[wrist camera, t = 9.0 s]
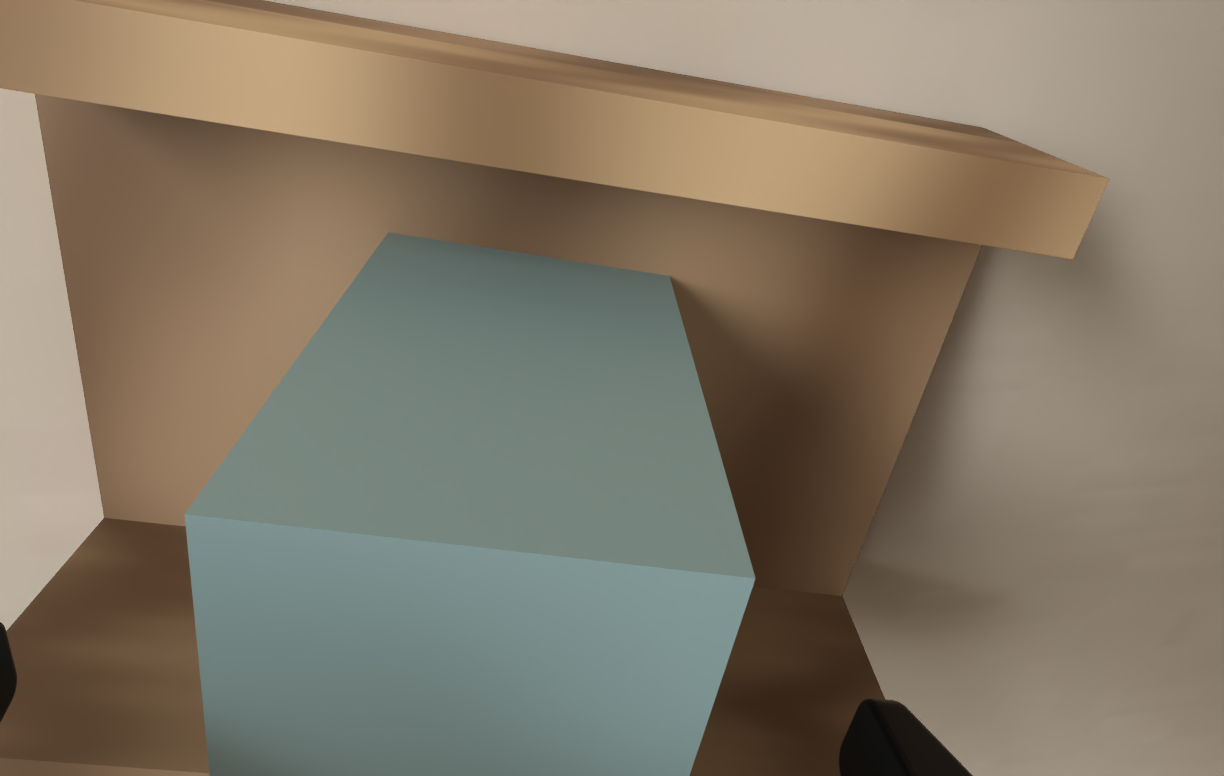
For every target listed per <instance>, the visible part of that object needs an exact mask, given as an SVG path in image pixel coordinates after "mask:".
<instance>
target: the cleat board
mask: <svg viewBox="0 0 1224 776" xmlns="http://www.w3.org/2000/svg"><path fill="white" fill-rule="evenodd" d="M0 88H3V89H9V90H16V91H22V92H28V93H34V94H35V97H36V103H37V109H38V116H39V122H40V128H41V134H42V140H43V146H44V152H45V158H46V164H47V171H48V177H49V183H50V189H51V195H52V201H53V207H54V213H55V219H56V226H57V232H58V238H59V244H60V250H61V256H62V262H63V268H64V274H65V281H66V287H67V293H68V299H69V305H70V311H71V317H72V323H73V329H74V335H75V342H76V348H77V354H78V360H79V366H80V372H81V378H82V384H83V390H84V397H85V403H86V409H87V415H88V421H89V427H90V433H91V439H92V445H93V452H94V458H95V464H96V470H97V476H98V482H99V488H100V494H101V500H102V507H103V513H104V519H103V520H102V521H101V522H100V523H99V525H98V526H97V527H96V528H95V529H94V530H93V532H92V533H91V534H90V535H89V536H88V537H87V539H86V540H85V541H84V542H83V543H82V544H81V545H80V547H79V548H78V549H77V550H76V551H75V552H74V554H73V555H72V556H71V557H70V558H69V559H68V561H67V562H66V563H65V564H64V565H63V566H62V567H61V569H60V570H59V571H58V572H57V573H56V574H55V576H54V577H53V578H52V579H51V580H50V581H49V583H48V584H47V585H46V586H45V587H44V588H43V590H42V591H41V592H40V593H39V594H38V595H37V596H36V598H35V599H34V600H33V601H32V602H31V603H30V605H29V606H28V607H27V608H26V609H25V610H24V612H23V613H22V614H21V615H20V616H19V617H18V618H17V620H16V621H15V622H14V623H13V624H12V625H11V627H10V628H9V629H8V630H7V631H6V633H7V637H8V641H9V645H10V649H11V652H12V656H13V660H14V664H15V668H16V672H17V687H16V691H15V694H14V697H13V700H12V702H11V704H10V706H9V708H8V710H7V711H6V713H5V715H4V717H3V719H2V721H1V723H0V776H210V773H209V763H208V752H207V742H206V732H205V721H204V711H203V700H202V690H201V680H200V669H199V659H198V649H197V638H196V628H195V617H194V607H193V597H192V586H191V576H190V566H189V555H188V545H187V534H186V524H185V513H186V512H187V510H188V509H189V507H190V506H191V505H192V503H193V502H194V500H195V499H196V498H197V496H198V495H199V494H200V492H201V491H202V489H203V488H204V487H205V485H206V484H207V482H208V481H209V480H210V478H211V477H212V476H213V474H214V473H215V471H216V470H217V469H218V467H219V466H220V464H221V463H222V462H223V460H224V459H225V458H226V456H227V455H228V453H229V452H230V451H231V449H232V448H233V446H234V445H235V444H236V442H237V441H238V440H239V438H240V437H241V435H242V434H243V433H244V431H245V430H246V428H247V427H248V426H249V424H250V423H251V422H252V420H253V419H254V417H255V416H256V415H257V413H258V412H259V410H260V409H261V408H262V406H263V405H264V404H265V402H266V401H267V399H268V398H269V397H270V395H271V394H272V392H273V391H274V390H275V388H276V387H277V386H278V384H279V383H280V381H281V380H282V379H283V377H284V376H285V374H286V373H287V372H288V370H289V369H290V368H291V366H292V365H293V363H294V362H295V361H296V359H297V358H298V356H299V355H300V354H301V352H302V351H303V350H304V348H305V347H306V345H307V344H308V343H309V341H310V340H311V338H312V337H313V336H314V334H315V333H316V332H317V330H318V329H319V327H320V326H321V325H322V323H323V322H324V320H325V319H326V318H327V316H328V315H329V314H330V312H331V311H332V309H333V308H334V307H335V305H336V304H337V302H338V301H339V300H340V298H341V297H342V296H343V294H344V293H345V291H346V290H347V289H348V287H349V286H350V284H351V283H352V282H353V280H354V279H355V278H356V276H357V275H358V273H359V272H360V271H361V269H362V268H363V266H364V265H365V264H366V262H367V261H368V260H369V258H370V257H371V255H372V254H373V253H374V251H375V250H376V248H377V247H378V246H379V244H380V243H381V242H382V240H383V239H384V237H385V236H386V235H387V233H388V232H390V233H397V234H403V235H409V236H416V237H422V238H429V239H435V240H442V241H448V242H455V243H461V244H468V245H474V246H481V247H487V248H493V249H500V250H506V251H513V252H519V253H526V254H532V255H539V256H545V257H552V258H558V259H564V260H571V261H577V262H584V263H590V264H597V265H603V266H610V267H616V268H623V269H629V270H636V271H642V272H648V273H655V274H661V275H668V276H670V280H671V283H672V287H673V290H674V294H675V297H676V301H677V304H678V308H679V311H680V315H681V318H682V322H683V325H684V329H685V332H686V336H687V339H688V343H689V346H690V350H691V353H692V357H693V360H694V364H695V368H696V371H697V375H698V378H699V382H700V385H701V389H702V392H703V396H704V399H705V403H706V406H707V410H708V413H709V417H710V420H711V424H712V427H713V431H714V434H715V438H716V441H717V445H718V448H719V452H720V455H721V459H722V462H723V466H724V469H725V473H726V476H727V480H728V483H729V487H730V490H731V494H732V498H733V501H734V505H735V508H736V512H737V515H738V519H739V522H740V526H741V529H742V533H743V536H744V540H745V543H746V547H747V550H748V554H749V557H750V561H751V564H752V568H753V571H754V575H755V578H756V579H755V582H754V585H753V588H752V591H751V594H750V597H749V600H748V603H747V606H746V609H745V612H744V615H743V618H742V620H741V623H740V626H739V629H738V632H737V635H736V638H735V641H734V644H733V647H732V650H731V653H730V656H729V659H728V662H727V665H726V668H725V671H724V674H723V677H722V680H721V683H720V686H719V689H718V692H717V695H716V698H715V701H714V704H713V707H712V710H711V713H710V716H709V719H708V722H707V725H706V728H705V731H704V734H703V737H702V740H701V743H700V746H699V749H698V752H697V755H696V758H695V761H694V764H693V767H692V770H691V773H690V776H840V770H839V751H840V746H841V743H842V741H843V739H844V737H845V734H846V732H847V730H848V728H849V726H850V723H851V721H852V719H853V717H854V715H855V712H856V710H857V708H858V706H859V704H860V703H861V702H862V701H863V700H865V699H869V698H870V699H881V700H885V698H884V696H883V693H882V691H881V689H880V686H879V684H878V681H877V679H876V676H875V674H874V672H873V669H872V667H871V664H870V662H869V660H868V657H867V655H866V652H865V650H864V647H863V645H862V643H861V640H860V638H859V635H858V633H857V631H856V628H855V626H854V623H853V621H852V619H851V616H850V614H849V611H848V609H847V606H846V604H845V602H844V599H843V597H842V596H843V593H844V591H845V588H846V585H847V583H848V580H849V578H850V575H851V573H852V570H853V568H854V565H855V563H856V560H857V558H858V555H859V553H860V550H861V548H862V545H863V543H864V540H865V538H866V535H867V533H868V530H869V528H870V525H871V523H872V520H873V518H874V515H875V513H876V510H877V508H878V505H879V503H880V500H881V498H882V495H883V493H884V490H885V488H886V485H887V483H888V480H889V478H890V475H891V473H892V470H893V468H894V465H895V463H896V460H897V458H898V455H899V453H900V450H901V448H902V445H903V443H904V440H905V437H906V435H907V432H908V430H909V427H910V425H911V422H912V420H913V417H914V415H915V412H916V410H917V407H918V405H919V402H920V400H921V397H922V395H923V392H924V390H925V387H926V385H927V382H928V380H929V377H930V375H931V372H932V370H933V367H934V365H935V362H936V360H937V357H938V355H939V352H940V350H941V347H942V345H943V342H944V340H945V337H946V335H947V332H948V330H949V327H950V325H951V322H952V320H953V317H954V315H955V312H956V310H957V307H958V305H959V302H960V300H961V297H962V295H963V292H964V289H965V287H966V284H967V282H968V279H969V277H970V274H971V272H972V269H973V267H974V264H975V262H976V259H977V257H978V254H979V252H980V249H981V247H982V245H986V246H992V247H999V248H1005V249H1011V250H1017V251H1024V252H1030V253H1036V254H1042V255H1049V256H1055V257H1061V258H1067V259H1073V258H1074V256H1075V253H1076V251H1077V249H1078V247H1079V245H1080V243H1081V240H1082V238H1083V236H1084V234H1085V232H1086V229H1087V227H1088V225H1089V223H1090V221H1091V219H1092V216H1093V214H1094V212H1095V210H1096V208H1097V205H1098V203H1099V201H1100V199H1101V197H1102V194H1103V192H1104V190H1105V188H1106V186H1107V184H1108V181H1109V179H1108V178H1106V177H1103V176H1101V175H1098V174H1096V173H1093V172H1091V171H1089V170H1086V169H1084V168H1081V167H1079V166H1076V165H1074V164H1071V163H1069V162H1066V161H1064V160H1061V159H1059V158H1056V157H1054V156H1051V155H1049V154H1046V153H1044V152H1042V151H1039V150H1037V149H1034V148H1032V147H1029V146H1027V145H1024V144H1022V143H1019V142H1017V141H1014V140H1012V139H1009V138H1007V137H1004V136H1002V135H999V134H997V133H995V132H992V131H990V130H987V129H985V128H981V127H976V126H970V125H964V124H959V123H953V122H947V121H942V120H936V119H930V118H925V117H919V116H913V115H908V114H902V113H896V112H891V111H885V110H880V109H874V108H868V107H863V106H857V105H851V104H846V103H840V102H834V101H829V100H823V99H817V98H812V97H806V96H800V95H795V94H789V93H783V92H778V91H772V90H766V89H761V88H755V87H749V86H744V85H738V84H733V83H727V82H721V81H716V80H710V79H704V78H699V77H693V76H687V75H682V74H676V73H670V72H665V71H659V70H653V69H648V68H642V67H636V66H631V65H625V64H619V63H614V62H608V61H602V60H597V59H591V58H586V57H580V56H574V55H569V54H563V53H557V52H552V51H546V50H540V49H535V48H529V47H523V46H518V45H512V44H506V43H501V42H495V41H489V40H484V39H478V38H472V37H467V36H461V35H455V34H450V33H444V32H439V31H433V30H427V29H422V28H416V27H410V26H405V25H399V24H393V23H388V22H382V21H376V20H371V19H365V18H359V17H354V16H348V15H342V14H337V13H331V12H325V11H320V10H314V9H308V8H303V7H297V6H291V5H286V4H280V3H275V2H269V1H263V0H0Z"/></svg>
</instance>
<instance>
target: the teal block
mask: <svg viewBox="0 0 1224 776" xmlns="http://www.w3.org/2000/svg"><path fill="white" fill-rule="evenodd" d="M185 524H186V534H187V545H188V555H189V566H190V576H191V586H192V597H193V607H194V617H195V628H196V638H197V649H198V659H199V669H200V680H201V690H202V700H203V711H204V721H205V732H206V742H207V752H208V763H209V773H210V776H690V773H691V770H692V767H693V764H694V761H695V758H696V755H697V752H698V749H699V746H700V743H701V740H702V737H703V734H704V731H705V728H706V725H707V722H708V719H709V716H710V713H711V710H712V707H713V704H714V701H715V698H716V695H717V692H718V689H719V686H720V683H721V680H722V677H723V674H724V671H725V668H726V665H727V662H728V659H729V656H730V653H731V650H732V647H733V644H734V641H735V638H736V635H737V632H738V629H739V626H740V623H741V620H742V618H743V615H744V612H745V609H746V606H747V603H748V600H749V597H750V594H751V591H752V588H753V585H754V582H755V579H756V578H755V575H754V571H753V568H752V564H751V561H750V557H749V554H748V550H747V547H746V543H745V540H744V536H743V533H742V529H741V526H740V522H739V519H738V515H737V512H736V508H735V505H734V501H733V498H732V494H731V490H730V487H729V483H728V480H727V476H726V473H725V469H724V466H723V462H722V459H721V455H720V452H719V448H718V445H717V441H716V438H715V434H714V431H713V427H712V424H711V420H710V417H709V413H708V410H707V406H706V403H705V399H704V396H703V392H702V389H701V385H700V382H699V378H698V375H697V371H696V368H695V364H694V360H693V357H692V353H691V350H690V346H689V343H688V339H687V336H686V332H685V329H684V325H683V322H682V318H681V315H680V311H679V308H678V304H677V301H676V297H675V294H674V290H673V287H672V283H671V280H670V276H668V275H661V274H655V273H648V272H642V271H636V270H629V269H623V268H616V267H610V266H603V265H597V264H590V263H584V262H577V261H571V260H564V259H558V258H552V257H545V256H539V255H532V254H526V253H519V252H513V251H506V250H500V249H493V248H487V247H481V246H474V245H468V244H461V243H455V242H448V241H442V240H435V239H429V238H422V237H416V236H409V235H403V234H397V233H390V232H388V233H387V235H386V236H385V237H384V239H383V240H382V242H381V243H380V244H379V246H378V247H377V248H376V250H375V251H374V253H373V254H372V255H371V257H370V258H369V260H368V261H367V262H366V264H365V265H364V266H363V268H362V269H361V271H360V272H359V273H358V275H357V276H356V278H355V279H354V280H353V282H352V283H351V284H350V286H349V287H348V289H347V290H346V291H345V293H344V294H343V296H342V297H341V298H340V300H339V301H338V302H337V304H336V305H335V307H334V308H333V309H332V311H331V312H330V314H329V315H328V316H327V318H326V319H325V320H324V322H323V323H322V325H321V326H320V327H319V329H318V330H317V332H316V333H315V334H314V336H313V337H312V338H311V340H310V341H309V343H308V344H307V345H306V347H305V348H304V350H303V351H302V352H301V354H300V355H299V356H298V358H297V359H296V361H295V362H294V363H293V365H292V366H291V368H290V369H289V370H288V372H287V373H286V374H285V376H284V377H283V379H282V380H281V381H280V383H279V384H278V386H277V387H276V388H275V390H274V391H273V392H272V394H271V395H270V397H269V398H268V399H267V401H266V402H265V404H264V405H263V406H262V408H261V409H260V410H259V412H258V413H257V415H256V416H255V417H254V419H253V420H252V422H251V423H250V424H249V426H248V427H247V428H246V430H245V431H244V433H243V434H242V435H241V437H240V438H239V440H238V441H237V442H236V444H235V445H234V446H233V448H232V449H231V451H230V452H229V453H228V455H227V456H226V458H225V459H224V460H223V462H222V463H221V464H220V466H219V467H218V469H217V470H216V471H215V473H214V474H213V476H212V477H211V478H210V480H209V481H208V482H207V484H206V485H205V487H204V488H203V489H202V491H201V492H200V494H199V495H198V496H197V498H196V499H195V500H194V502H193V503H192V505H191V506H190V507H189V509H188V510H187V512H186V513H185Z"/></svg>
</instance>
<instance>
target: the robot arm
mask: <svg viewBox="0 0 1224 776" xmlns="http://www.w3.org/2000/svg"><path fill="white" fill-rule="evenodd" d="M16 687H17V672H16V668H15V664H14V660H13V656H12V652H11V649H10V645H9V641H8V637H7V633H6V629H5V627H4V625H3V624H2V623H1V622H0V723H1V721H2V719H3V717H4V715H5V713H6V711H7V710H8V708H9V706H10V704H11V702H12V700H13V697H14V694H15V691H16ZM839 770H840V776H972V775H971V773H970V772H969V771H968V770H967V769H966V768H965V767H964V766H963V765H962V764H961V763H960V762H959V761H958V760H957V759H956V758H955V757H954V756H953V755H952V754H951V753H950V752H949V751H948V750H947V749H946V748H945V747H944V746H943V745H942V744H941V743H940V742H939V740H938V739H937V738H936V737H935V736H934V735H933V734H932V733H931V732H930V731H929V730H928V729H927V728H926V727H925V726H924V725H923V724H922V723H921V722H920V721H919V720H918V719H917V718H916V717H915V716H914V715H913V714H912V713H911V712H910V711H909V710H908V709H907V708H906V707H905V706H904V705H903V704H901V703H899V702H897V701H892V700H881V699H870V698H869V699H865V700H863V701H862V702H861V703H860V704H859V706H858V708H857V710H856V712H855V715H854V717H853V719H852V721H851V723H850V726H849V728H848V730H847V732H846V734H845V737H844V739H843V741H842V743H841V746H840V751H839Z"/></svg>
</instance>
